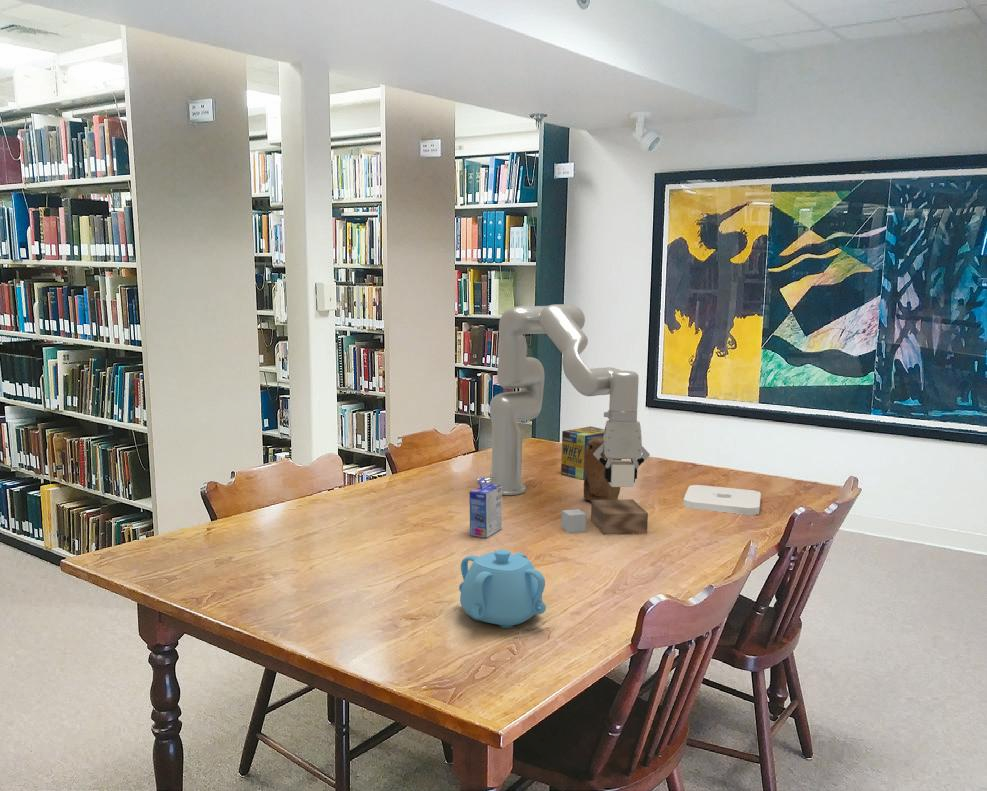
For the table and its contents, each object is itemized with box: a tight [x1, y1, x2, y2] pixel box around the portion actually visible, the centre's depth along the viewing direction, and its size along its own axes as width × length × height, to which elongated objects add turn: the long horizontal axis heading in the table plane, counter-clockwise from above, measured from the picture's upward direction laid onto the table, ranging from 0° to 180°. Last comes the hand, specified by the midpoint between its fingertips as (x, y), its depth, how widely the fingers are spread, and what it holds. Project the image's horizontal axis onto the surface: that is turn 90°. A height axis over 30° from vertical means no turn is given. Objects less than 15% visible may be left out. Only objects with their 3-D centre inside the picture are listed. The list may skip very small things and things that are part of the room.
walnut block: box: [590, 498, 649, 536], centre depth 226 cm, size 12×14×6 cm
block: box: [583, 436, 623, 503], centre depth 250 cm, size 11×8×20 cm
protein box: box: [560, 425, 605, 481], centre depth 286 cm, size 10×15×16 cm
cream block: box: [609, 459, 635, 488], centre depth 225 cm, size 6×6×6 cm
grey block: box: [560, 508, 587, 534], centre depth 223 cm, size 5×5×5 cm
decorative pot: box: [458, 548, 547, 629], centre depth 164 cm, size 16×16×14 cm
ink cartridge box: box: [469, 476, 503, 539], centre depth 218 cm, size 10×6×14 cm, turn 155°
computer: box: [682, 484, 762, 516], centre depth 253 cm, size 22×22×3 cm
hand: (620, 480), depth 225 cm, fingers closed on cream block, 6 cm apart
